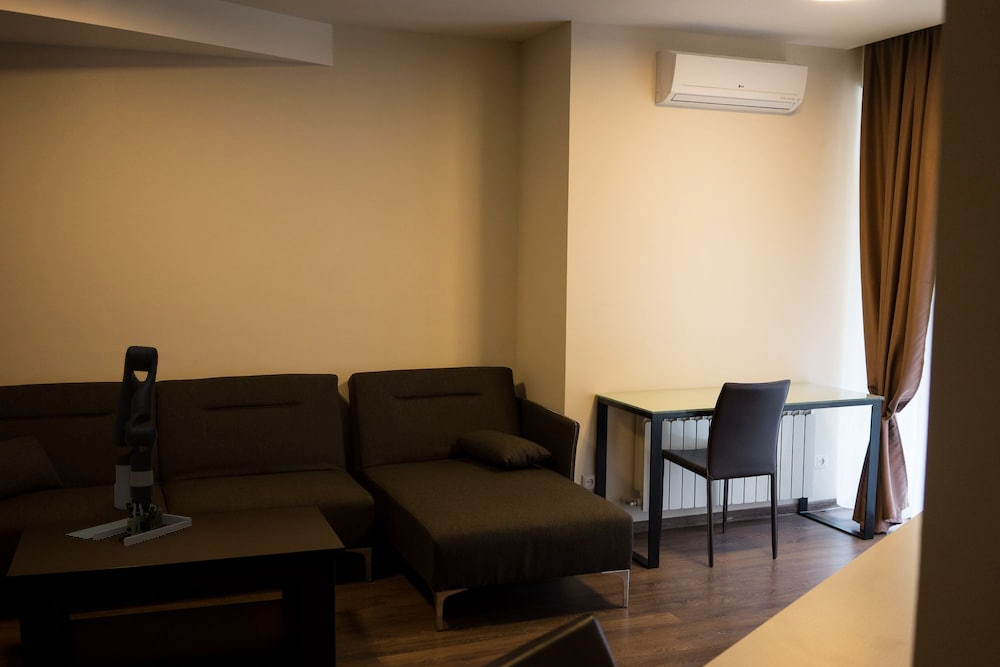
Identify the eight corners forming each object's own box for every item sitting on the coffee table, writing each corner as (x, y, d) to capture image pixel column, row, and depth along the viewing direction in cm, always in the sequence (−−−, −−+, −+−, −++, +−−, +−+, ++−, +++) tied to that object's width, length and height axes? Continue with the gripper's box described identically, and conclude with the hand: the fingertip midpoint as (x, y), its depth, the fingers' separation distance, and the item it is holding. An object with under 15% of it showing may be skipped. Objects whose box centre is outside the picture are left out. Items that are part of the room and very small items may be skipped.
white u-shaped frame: (93, 540, 308) (93, 530, 308) (158, 522, 334) (158, 512, 334) (127, 546, 301) (127, 535, 301) (191, 527, 327) (191, 517, 327)
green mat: (64, 535, 314) (64, 534, 314) (130, 518, 339) (130, 517, 339) (87, 539, 309) (87, 538, 309) (151, 522, 334) (151, 520, 334)
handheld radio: (164, 525, 329) (125, 543, 304) (155, 525, 330) (115, 543, 305) (164, 507, 329) (125, 523, 304) (155, 507, 329) (116, 523, 305)
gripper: (165, 483, 317) (165, 532, 317) (135, 479, 323) (136, 527, 323) (147, 487, 310) (148, 537, 311) (118, 483, 316) (118, 532, 317)
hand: (142, 532), depth 317 cm, fingers closed on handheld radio, 3 cm apart
